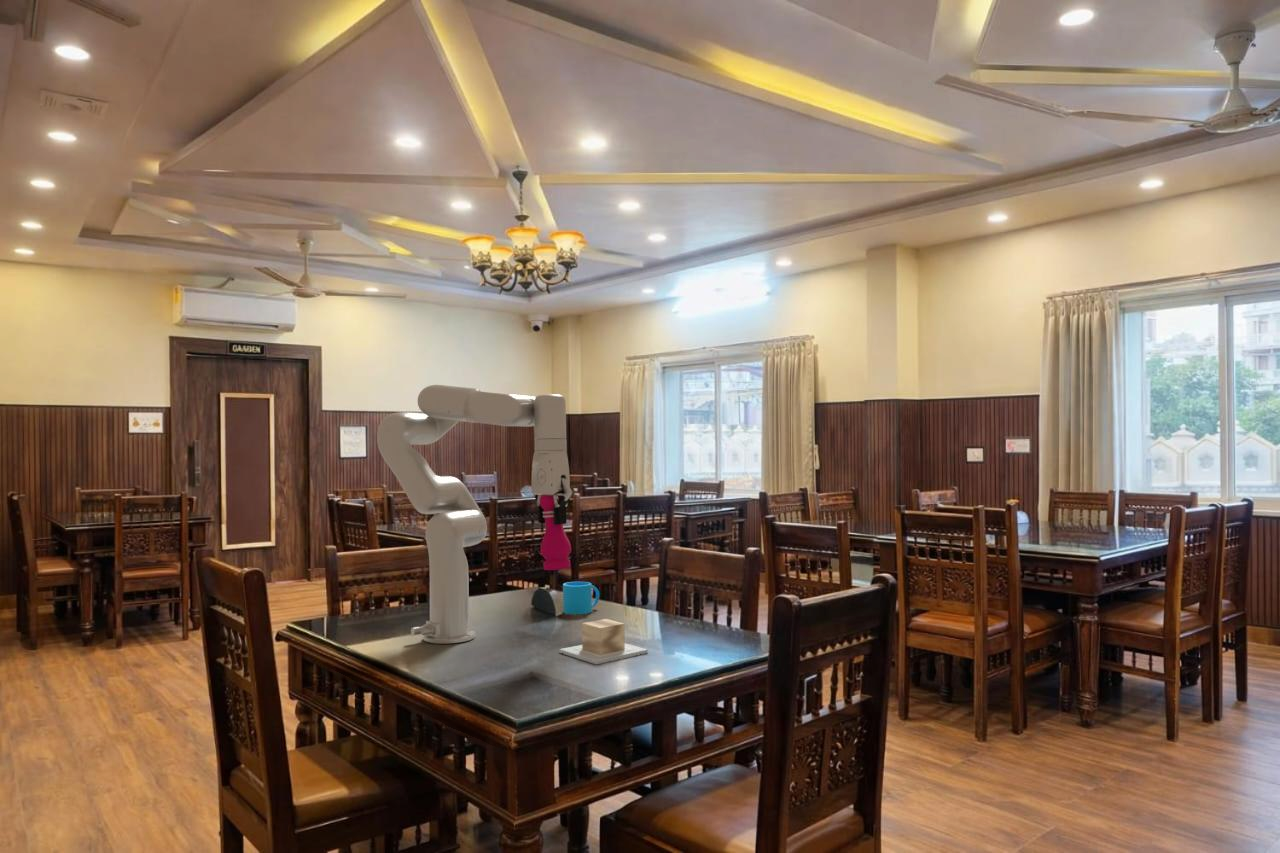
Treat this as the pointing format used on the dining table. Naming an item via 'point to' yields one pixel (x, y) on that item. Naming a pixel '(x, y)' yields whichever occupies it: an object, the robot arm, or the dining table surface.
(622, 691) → the dining table surface
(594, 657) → the white flat square
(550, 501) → the pepper mill
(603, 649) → the maple block
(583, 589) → the mug
